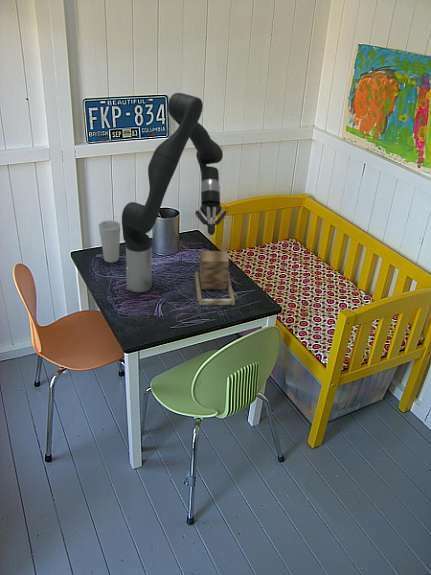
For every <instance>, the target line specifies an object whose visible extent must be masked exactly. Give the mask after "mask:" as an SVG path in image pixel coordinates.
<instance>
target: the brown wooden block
mask: <svg viewBox="0 0 431 575" xmlns="http://www.w3.org/2000/svg"><path fill="white" fill-rule="evenodd" d="M229 271H230V260H229V255H228V250H200V255H199V271H198V275H199V283H200V290H228V287H227V284H228V272H229Z"/></svg>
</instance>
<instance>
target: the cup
mask: <svg viewBox="0 0 431 575" xmlns="http://www.w3.org/2000/svg"><path fill="white" fill-rule="evenodd" d="M98 230H99V236H100V237H99V238H100V241H101V248H102V255H103V260H104V261H105V262H107V263H110V264H111V263H116V262H118V261H119V259H120V241H121V236H120V235H121V223H120V222H119V221H116V220H104V221H101V222H100V223H98Z"/></svg>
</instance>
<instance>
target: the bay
mask: <svg viewBox="0 0 431 575" xmlns="http://www.w3.org/2000/svg"><path fill="white" fill-rule="evenodd" d="M194 279H195V281H194V282H195V288H196V296H197V297H196V298H197V306H235V304H236V300H235V294H234V291H233V287H232V281H231V278H230V272H229V271H228V284H227V292H228V296H229V298H202V293H201V292H202V291H201V288H200V280H199V271H194Z"/></svg>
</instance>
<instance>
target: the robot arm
mask: <svg viewBox="0 0 431 575" xmlns="http://www.w3.org/2000/svg"><path fill="white" fill-rule="evenodd" d="M203 107H204V106H203V101H202V99H201V98H200V97H197V96H194V95H190V94H186V93H182V92H175V93H174V94H172V95H171V97H169V100H168V103H167V111H168V114H169V115H170V117H171V118H172V119H173V121H175V122H176V123H177V125H178V127H177V129H175V131H174V132H173V134H171V135H170V136H169V137H168V138H166V139H165V140H163V141H162V142H161V143H160V144H159V145H158V146H157V147H156V148H155V150H154V152H153V154H152V156H151V159H150V161H149V163H148V166H147V177H148V183H149V192H148V195H147V198H146V202H145V204H144V205H143V204H141V203H138V202H135V201H132V202H128V203H126V205H125V206H124V207H123V210H122V212H121V227H122V228H121V229H122V238H123V241H124V243H125V261H126V262H125V263H126V265H125V274H126V275H125V277H126V279H125V280H126V290H127V291H131V292H134V293H144V292H147V291H149V290H150V289H151V288H152V284H153V281H152V279H153V278H152V272H153V271H152V268H153V267H152V238H150V236H149V235H148V234H147V233H150V232H151V231H152V229H153V228H154V226H155V224H156V222H157V219H158V216H159V214H160V210H161V208H162V205H163V200H164V197H165V194H166V192H167V190H168V187H169V185H170V183H171V180H172V178H173V176H174V174H175V171H176V169H177V167H178V165H179V163H180V159H181V157H182V154H183V151H184V150H185V147H186V145H187V143H188V141H189V139H190V141H191V143H192V144H193V146H194V147H195V148H194V149H195V150H196V154H195V155H196V160H197V162H198V165H199V170H200V174H201V176H200V177H201V178H200V179H201V181H200V182H201V184H200V202H201V203H200V205H201V206H200V207H199V209H197V210H195V213H194V215H195V216H196V218H197V219H199V222H201V223H202V224H203V226H204V225H205V226H207V233H208V234H209V236H210V235H211V236H213V235H214V234H215V233H216V226H217V225H218V226H219V225H220V223H221V222H222V221H223V219H225V217H226V215H227V213H228V211H226V210H223V208H222V205H221V191H220V190H221V188H220V182H219V181H220V177H219V176H220V175H219V173H220V172H219V169H218V168H217V167H215V166H209V165H212V164H213V165H214V164H218V163H220V162H221V161H222V160H223V156H224V155H223V149H222V148H221V146H220V145H219V144H218V143H217V142H215V141H214V140H213V139H212V138H211V136H210V134H209V132H208V130H207V129H206V128H205V127H204V126H203V125H202V124H201V123H200V122H199V120H200V118H201V115H202V112H203ZM202 214H203V215H202ZM219 214H220V215H219ZM218 215H219V216H218ZM217 217H218V219H216V218H217Z"/></svg>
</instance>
